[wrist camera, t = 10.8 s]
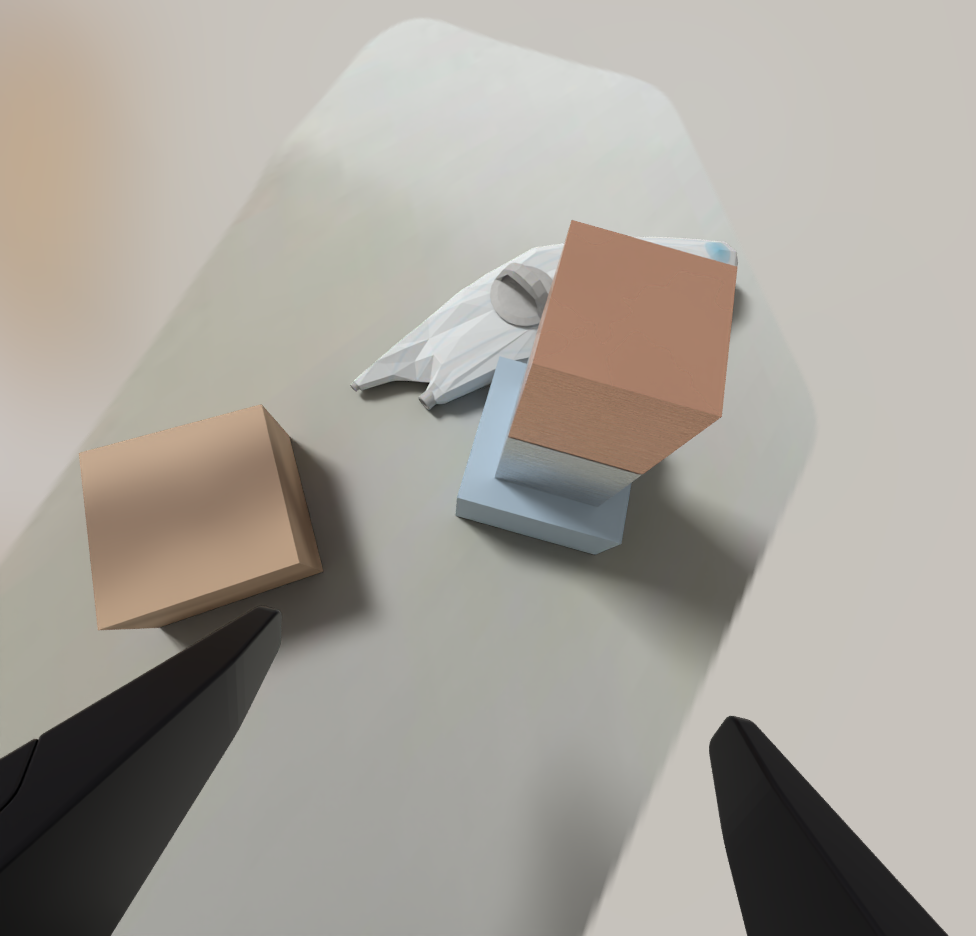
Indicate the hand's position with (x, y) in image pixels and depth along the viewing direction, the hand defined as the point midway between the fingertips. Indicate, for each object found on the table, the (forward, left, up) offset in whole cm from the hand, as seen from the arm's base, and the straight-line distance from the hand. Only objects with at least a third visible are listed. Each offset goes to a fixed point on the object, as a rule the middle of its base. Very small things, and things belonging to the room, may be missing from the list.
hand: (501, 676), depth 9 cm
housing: (+8, -5, -8) cm, 12 cm away
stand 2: (+8, -5, -12) cm, 15 cm away
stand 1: (+7, +10, -12) cm, 17 cm away
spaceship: (+15, -7, -12) cm, 21 cm away
